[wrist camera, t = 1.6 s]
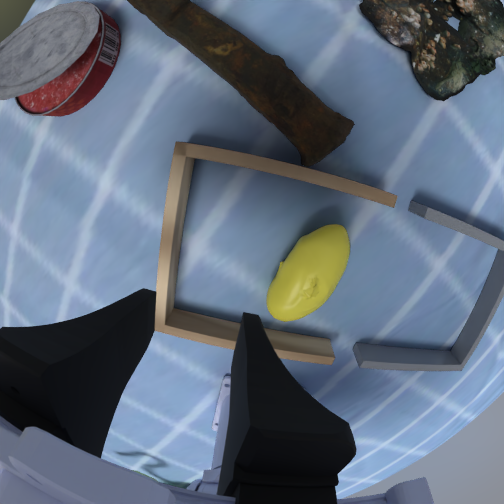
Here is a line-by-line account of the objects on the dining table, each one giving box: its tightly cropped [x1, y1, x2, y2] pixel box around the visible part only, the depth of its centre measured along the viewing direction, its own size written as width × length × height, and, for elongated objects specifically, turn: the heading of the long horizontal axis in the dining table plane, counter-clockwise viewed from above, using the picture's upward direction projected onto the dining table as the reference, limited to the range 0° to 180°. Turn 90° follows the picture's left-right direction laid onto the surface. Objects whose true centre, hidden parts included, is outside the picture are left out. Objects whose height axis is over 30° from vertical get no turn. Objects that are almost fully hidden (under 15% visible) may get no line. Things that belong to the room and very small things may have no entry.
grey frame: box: [353, 201, 504, 371], centre depth 20 cm, size 14×13×2 cm
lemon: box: [267, 224, 350, 322], centre depth 19 cm, size 4×8×4 cm, turn 145°
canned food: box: [0, 1, 121, 116], centre depth 13 cm, size 11×10×10 cm
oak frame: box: [155, 142, 397, 365], centre depth 19 cm, size 14×14×2 cm
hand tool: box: [127, 0, 355, 167], centre depth 14 cm, size 19×4×5 cm, turn 43°
